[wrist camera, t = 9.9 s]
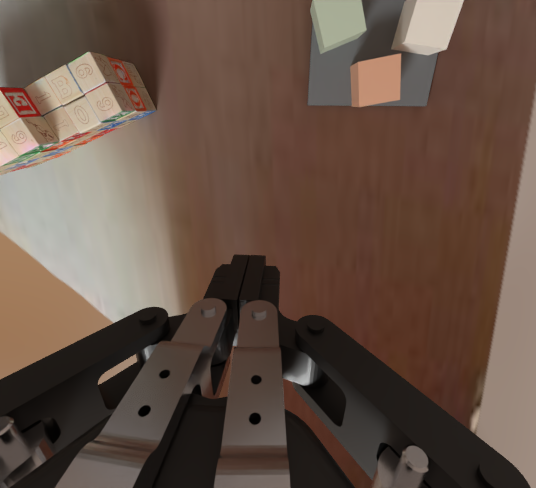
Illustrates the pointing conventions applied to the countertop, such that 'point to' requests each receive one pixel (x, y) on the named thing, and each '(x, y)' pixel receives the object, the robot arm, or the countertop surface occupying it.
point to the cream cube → (426, 25)
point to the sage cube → (337, 22)
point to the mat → (365, 48)
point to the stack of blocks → (69, 109)
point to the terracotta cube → (376, 80)
